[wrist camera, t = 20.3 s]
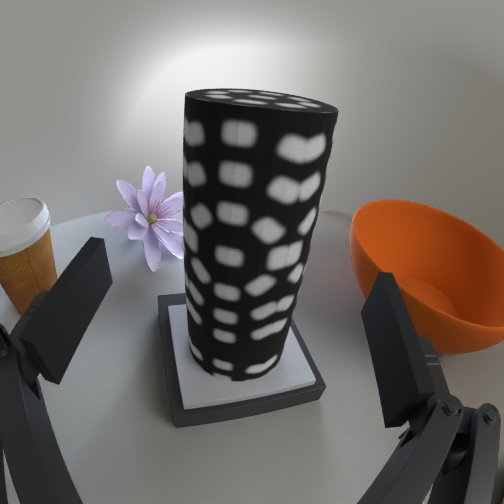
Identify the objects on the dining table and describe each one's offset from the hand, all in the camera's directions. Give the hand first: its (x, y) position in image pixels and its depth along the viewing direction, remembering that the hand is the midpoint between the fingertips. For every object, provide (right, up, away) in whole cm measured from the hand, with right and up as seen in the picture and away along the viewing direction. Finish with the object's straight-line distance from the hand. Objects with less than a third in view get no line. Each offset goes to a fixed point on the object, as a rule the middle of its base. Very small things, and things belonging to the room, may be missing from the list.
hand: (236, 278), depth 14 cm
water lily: (-12, +1, +28) cm, 31 cm away
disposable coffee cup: (-25, -5, +17) cm, 31 cm away
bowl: (+23, -7, +22) cm, 32 cm away
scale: (-1, -9, +15) cm, 18 cm away
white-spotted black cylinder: (-1, -7, +13) cm, 14 cm away
